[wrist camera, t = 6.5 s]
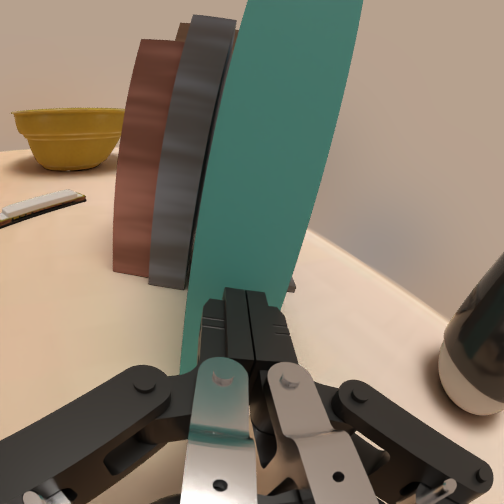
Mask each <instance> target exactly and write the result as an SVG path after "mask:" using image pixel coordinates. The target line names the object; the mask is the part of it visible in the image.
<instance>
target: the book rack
mask: <svg viewBox="0 0 504 504" xmlns="http://www.w3.org/2000/svg"><path fill="white" fill-rule="evenodd" d="M235 28H236V20H231V19H225V18H218V17H211V16H203V15H193V17H192V20H191V23H180V26H179V29H178V33H177V36H176V39H175V41H170V40H151V39H141V42H140V46H139V50H138V53H137V57H136V61H135V65H134V69H133V74H132V78H131V83H130V87H129V92H128V97H127V102H126V108H125V113H124V119H123V125H122V132H121V139H120V146H119V154H118V163H117V173H116V185H115V199H114V218H113V271H115V272H120V273H126V274H131V275H137V276H143V277H149V282H148V284H150V285H156V286H162V287H168V288H175V289H181V290H184V286H185V281H186V276H187V270H188V265H189V261H190V256H191V251H192V246H193V241H194V237H195V232H196V228H197V223H198V217H199V211H200V205H201V199H202V193H203V187H204V182H205V176H206V171H207V166H208V161H209V155H210V150H211V145H212V141H213V136H214V131H215V126H216V122H217V117H218V113H219V108H220V104H221V99H222V95H223V91H224V87H225V82H226V78H227V74H228V70H229V66H230V62H231V58H232V55H233V51H234V47H235V43H236V40H237V36H238V32H239V30H235ZM295 289H296V285H295V283H294V280H293V278H292V277H291V280H290V283H289V286H288V289H287V292H295Z"/></svg>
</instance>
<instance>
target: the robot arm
mask: <svg viewBox="0 0 504 504" xmlns="http://www.w3.org/2000/svg"><path fill="white" fill-rule="evenodd" d="M289 335H290V333H289V330H288V328H287V323H286V319H285V316H284V315H283V314H282V312H281V311H280V310H279V309H278V308H277V307H274V306H268V302H267V298H266V294H265V292H259V291H251V290H243V289H236V288H229V287H225V288H224V292H223V297H222V300H218V299H211V298H210V299H209V300H208V301H207V302H206V303H205V305H204V306H203V311H202V318H201V324H200V331H199V338H198V352H197V366H196V367H195V368H194V369H193V370H191V371H190V372H188V373H185V374H182V375H176V376H167V375H166V374H165V373H164V372H162V371H161V370H159V369H158V368H155V367H153V366H148V365H137V366H133V367H130V368H128V369H126V370H125V371H123V372H121V373H120V374H118V375H116V376H115V377H113V378H111V379H110V380H108V381H106V382H105V383H103V384H101V385H100V386H98V387H96V388H94V389H93V390H91V391H89V392H88V393H86V394H84V395H82V396H81V397H79V398H77V399H76V400H74V401H72V402H70V403H69V404H67V405H65V406H63V407H62V408H60V409H58V410H56V411H54V412H53V413H51V414H49V415H47V416H46V417H44V418H42V419H40V420H38V421H36V422H35V423H33V424H31V425H29V426H27V427H25V428H24V429H22V430H20V431H18V432H16V433H14V434H12V435H11V436H9V437H7V438H5V439H3V440H1V441H0V504H86V503H88V502H89V501H91V500H92V499H94V498H95V497H97V496H98V495H100V494H101V493H103V492H104V491H106V490H107V489H108V488H110V487H111V486H113V485H114V484H116V483H117V482H118V481H120V480H121V479H122V478H124V477H125V476H126V475H128V474H129V473H130V472H132V471H133V470H134V469H136V468H137V467H138V466H140V465H141V464H142V463H144V462H145V461H146V460H147V459H149V458H150V457H151V456H152V455H154V454H155V453H156V452H157V451H159V450H160V449H161V448H162V447H164V446H165V445H166V444H167V443H168V442H173V441H179V440H185V439H188V444H187V451H186V459H185V467H184V476H183V485H182V494H176V495H171V496H167V497H164V498H161V499H159V500H157V501H155V502H152V503H151V504H385V503H384V502H382V501H381V500H379V499H378V498H380V499H382V500H383V501H385V502H386V503H388V504H469V503H470V502H471V501H473V500H475V499H476V498H478V497H480V496H481V495H483V494H484V493H486V492H487V491H489V489H490V488H491V487H492V484H493V472H492V469H491V467H490V466H489V465H488V464H487V463H486V462H485V461H483V460H482V459H480V458H478V457H477V456H475V455H473V454H472V453H470V452H469V451H467V450H465V449H464V448H462V447H461V446H459V445H457V444H456V443H454V442H453V441H451V440H450V439H448V438H446V437H445V436H443V435H442V434H440V433H439V432H437V431H436V430H434V429H433V428H431V427H429V426H428V425H426V424H425V423H423V422H422V421H420V420H419V419H417V418H416V417H414V416H413V415H411V414H410V413H409V412H407V411H406V410H404V409H403V408H401V407H400V406H398V405H397V404H395V403H394V402H392V401H391V400H390V399H388V398H387V397H385V396H384V395H382V394H381V393H379V392H378V391H377V390H375V389H374V388H372V387H371V386H370V385H368V384H366V383H364V382H362V381H359V380H348V381H345V382H344V383H342V385H341V386H340V387H339V388H335V387H331V386H327V385H323V384H319V383H317V382H314V381H313V379H312V377H311V375H310V374H309V372H308V371H307V370H306V369H304V368H303V367H301V366H300V365H299V364H298V361H297V357H296V354H295V350H294V347H293V343H292V340H291V336H289ZM249 405H250V415H249ZM356 431H358V432H360V433H361V434H363V435H364V436H365V437H367V438H368V439H370V440H371V441H372V442H374V443H375V444H377V445H378V446H380V447H381V448H382V449H384V451H382V450H378V449H376V448H375V447H373V446H372V445H371V444H369V443H368V442H366V441H365V440H364V439H362V438H361V437H359V436H358V435H357V434H355V432H356ZM256 472H257V476H256ZM376 496H377V497H378V498H377V497H376Z"/></svg>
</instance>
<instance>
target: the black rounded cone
mask: <svg viewBox="0 0 504 504" xmlns="http://www.w3.org/2000/svg"><path fill="white" fill-rule="evenodd" d="M438 369H439V376H440V380H441V383H442V385H443V388H444V390H445V391H446V393H447V395H448V396H449V397H450V399H451V400H452V401H453V402H454V403H455V404H456V405H457V406H459V407H460V408H461V409H463V410H465V411H467V412H469V413H472V414H475V415H491V414H495V413H498V412H500V411H502V410H504V252H503V253H502V254H501V256H500V257H499V258H498V259H497V260H496V262H495V263H494V264H493V265H492V267H491V268H490V269H489V270H488V272H487V273H486V274H485V275H484V276H483V278H482V279H481V280H480V281H479V283H478V284H477V285H476V287H475V288H474V289H473V290H472V292H471V293H470V294H469V296H468V297H467V298H466V300H465V301H464V302H463V304H462V305H461V306H460V308H459V309H458V310H457V312H456V313H455V314H454V316H453V317H452V319H451V320H450V322H449V324H448V325H447V327H446V329H445V331H444V340H443V343H442V346H441V349H440V353H439V360H438Z"/></svg>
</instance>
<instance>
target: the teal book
mask: <svg viewBox="0 0 504 504" xmlns="http://www.w3.org/2000/svg"><path fill="white" fill-rule="evenodd" d="M362 4H363V0H248V2H247V5H246V8H245V12H244V15H243V18H242V22H241V25H240V29H239V32H238V36H237V40H236V43H235V47H234V51H233V55H232V58H231V62H230V66H229V70H228V74H227V78H226V82H225V87H224V91H223V95H222V99H221V104H220V108H219V113H218V117H217V122H216V126H215V131H214V136H213V141H212V145H211V150H210V155H209V161H208V166H207V171H206V176H205V182H204V187H203V193H202V199H201V205H200V211H199V217H198V223H197V229H196V236H195V242H194V249H193V256H192V263H191V271H190V278H189V286H188V294H187V302H186V311H185V320H184V330H183V340H182V350H181V362H180V374H179V375H182V374H185V373H188V372H190V371H191V370H193V369H194V368H195V367H196V366H197V352H198V338H199V331H200V324H201V318H202V311H203V306H204V305H205V303H206V302H207V301H208V300H209V299H210V298H211V299H218V300H222V297H223V292H224V288H225V287H229V288H236V289H243V290H251V291H259V292H265V294H266V298H267V302H268V306H274V307H277V308H278V309H279V310H281V307H282V304H283V301H284V298H285V295H286V292H287V289H288V286H289V283H290V280H291V277H292V274H293V271H294V268H295V265H296V262H297V259H298V255H299V252H300V249H301V246H302V243H303V240H304V236H305V233H306V230H307V227H308V223H309V220H310V216H311V213H312V210H313V206H314V203H315V199H316V196H317V193H318V189H319V186H320V182H321V179H322V175H323V172H324V167H325V164H326V161H327V157H328V153H329V150H330V146H331V142H332V138H333V134H334V131H335V127H336V123H337V118H338V115H339V111H340V107H341V102H342V98H343V94H344V90H345V86H346V82H347V77H348V73H349V68H350V64H351V59H352V54H353V50H354V45H355V40H356V35H357V31H358V26H359V20H360V15H361V10H362Z"/></svg>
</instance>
